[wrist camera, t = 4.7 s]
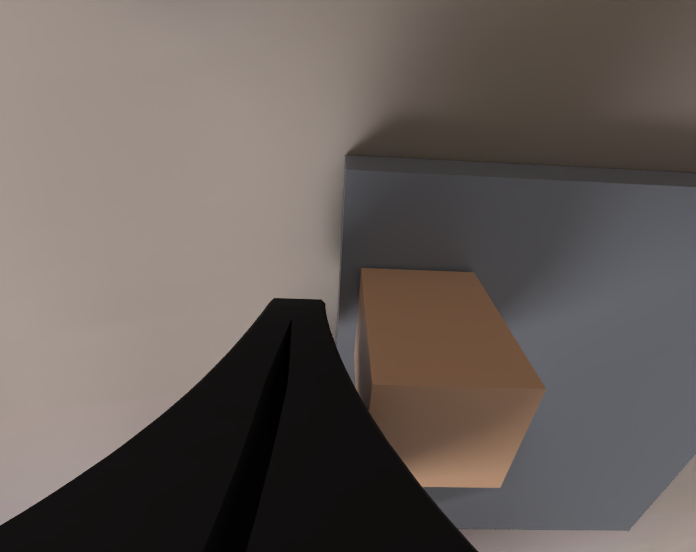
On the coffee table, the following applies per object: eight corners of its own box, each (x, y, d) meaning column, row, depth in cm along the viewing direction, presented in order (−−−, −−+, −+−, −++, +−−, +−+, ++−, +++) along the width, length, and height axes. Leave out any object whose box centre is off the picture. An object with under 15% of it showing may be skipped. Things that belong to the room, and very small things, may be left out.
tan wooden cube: (451, 356, 11) (500, 488, 8) (354, 353, 11) (359, 485, 8) (473, 272, 10) (545, 388, 6) (361, 267, 10) (372, 384, 6)
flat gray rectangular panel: (608, 497, 18) (628, 530, 17) (328, 493, 18) (327, 527, 17) (845, 180, 10) (917, 198, 9) (345, 154, 10) (345, 169, 8)
